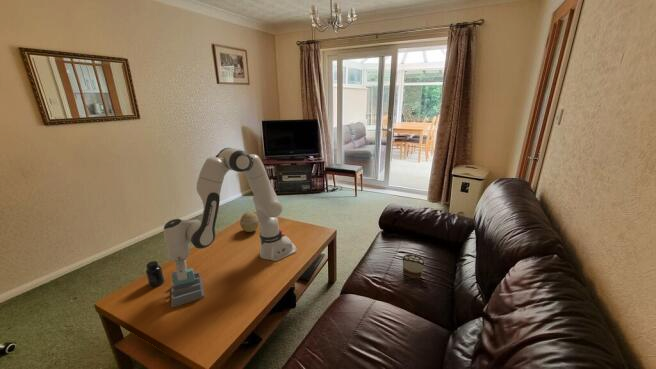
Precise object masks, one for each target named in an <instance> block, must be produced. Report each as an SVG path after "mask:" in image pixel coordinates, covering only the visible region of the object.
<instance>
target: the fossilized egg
mask: <svg viewBox="0 0 656 369" xmlns="http://www.w3.org/2000/svg"><path fill="white" fill-rule="evenodd" d="M239 221H240V222H239V224H240V227H241V229H242V230H243V231H244V232H247V233H253V232H254V231H256V230H257V229H258V227H259V220H258V216H257V213H254V212H253V211H246V212H244V213H243V214H242V215H241V217H240V220H239Z"/></svg>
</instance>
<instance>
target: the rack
mask: <svg viewBox="0 0 656 369" xmlns="http://www.w3.org/2000/svg"><path fill="white" fill-rule="evenodd" d="M194 276H195V281H192V282H188V283H184V284H180V285H177V286H174V283H173V282H172V283H173V284H172V285H171V300H170V304H171V305H170V307H171V308H176V307H178V306H182V305H184V304H189V303H190V302H194V301H199V300H200V299H204V298H205V294H204V293H205V292H204V286H203V278H202V276H200V273H199V271H197V272H194Z"/></svg>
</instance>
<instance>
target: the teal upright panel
mask: <svg viewBox="0 0 656 369" xmlns="http://www.w3.org/2000/svg"><path fill="white" fill-rule="evenodd" d="M194 273H195V272H194V268H193V267H190V268H187V279H186V280H182V281H179V280H178V278H177V273H176V271H175V272H171V278H172V283H174V284H173V285H174V286H177V285H180V284H184V283H188V282H192V281H195V276H194Z"/></svg>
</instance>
